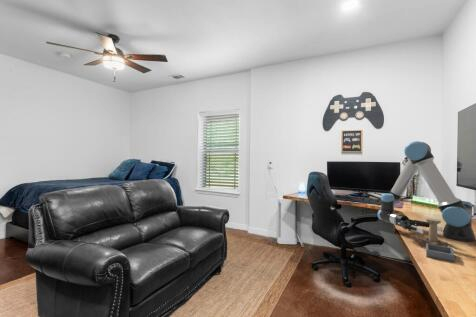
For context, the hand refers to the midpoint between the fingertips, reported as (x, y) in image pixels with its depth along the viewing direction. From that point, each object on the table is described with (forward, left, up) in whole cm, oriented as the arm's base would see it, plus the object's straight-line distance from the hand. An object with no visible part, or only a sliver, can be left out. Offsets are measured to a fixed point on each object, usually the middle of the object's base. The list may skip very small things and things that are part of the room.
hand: (432, 230), depth 135 cm
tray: (+10, +11, -9) cm, 17 cm away
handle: (0, 0, -9) cm, 9 cm away
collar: (0, 0, -9) cm, 9 cm away
